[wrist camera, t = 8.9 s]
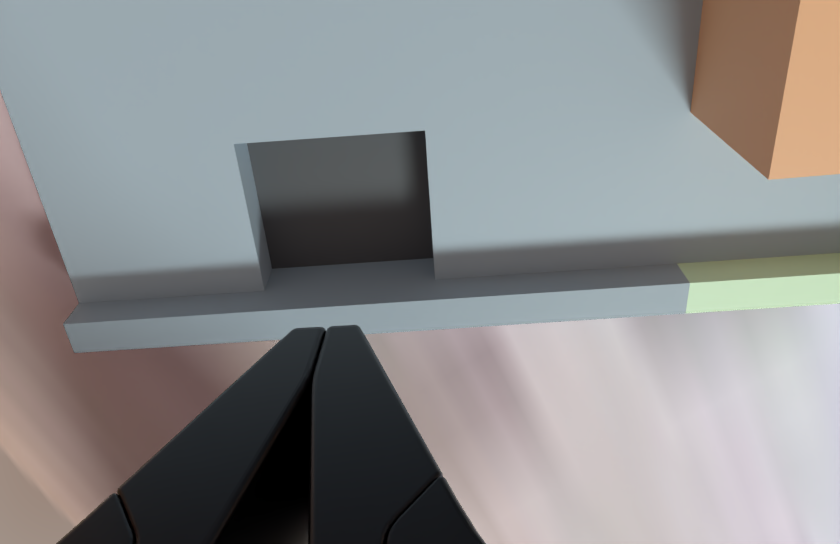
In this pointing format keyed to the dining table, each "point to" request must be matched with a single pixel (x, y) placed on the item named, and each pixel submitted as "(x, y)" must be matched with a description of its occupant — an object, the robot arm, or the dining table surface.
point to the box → (392, 168)
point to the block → (772, 83)
